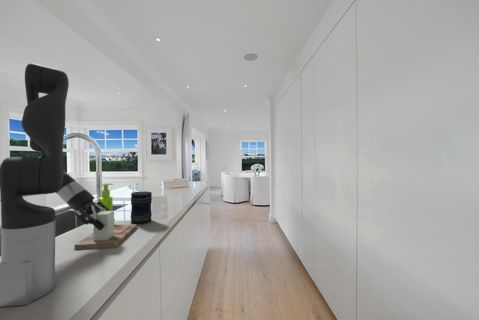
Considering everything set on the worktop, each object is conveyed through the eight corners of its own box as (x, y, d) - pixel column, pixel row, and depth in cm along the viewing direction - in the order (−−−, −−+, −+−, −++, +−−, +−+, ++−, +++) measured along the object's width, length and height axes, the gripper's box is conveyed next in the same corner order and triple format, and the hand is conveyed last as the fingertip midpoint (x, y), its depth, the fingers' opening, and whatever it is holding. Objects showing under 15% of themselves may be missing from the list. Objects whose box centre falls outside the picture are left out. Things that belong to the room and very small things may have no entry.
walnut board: (115, 247, 76) (116, 243, 76) (74, 249, 74) (74, 244, 74) (137, 227, 98) (137, 224, 98) (105, 228, 96) (105, 225, 96)
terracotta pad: (121, 233, 86) (121, 232, 86) (97, 233, 85) (97, 233, 85) (129, 226, 95) (129, 225, 95) (108, 226, 94) (108, 226, 94)
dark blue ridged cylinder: (141, 218, 113) (141, 191, 113) (155, 220, 110) (156, 192, 110) (125, 223, 104) (126, 193, 103) (141, 225, 100) (141, 195, 100)
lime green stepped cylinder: (116, 221, 106) (116, 183, 106) (106, 226, 99) (106, 184, 99) (105, 221, 106) (106, 182, 106) (95, 225, 99) (95, 184, 99)
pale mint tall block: (107, 240, 79) (107, 214, 79) (93, 240, 78) (93, 214, 78) (113, 235, 84) (114, 210, 84) (100, 235, 83) (100, 211, 83)
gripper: (71, 192, 73) (106, 223, 75) (94, 186, 87) (123, 213, 89) (54, 207, 72) (90, 238, 74) (80, 199, 86) (109, 225, 88)
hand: (108, 224), depth 81 cm, fingers open, 7 cm apart
